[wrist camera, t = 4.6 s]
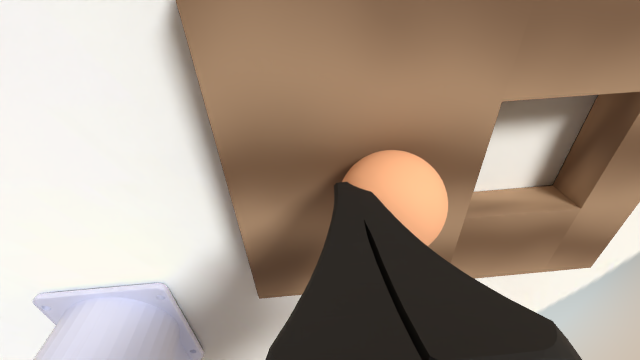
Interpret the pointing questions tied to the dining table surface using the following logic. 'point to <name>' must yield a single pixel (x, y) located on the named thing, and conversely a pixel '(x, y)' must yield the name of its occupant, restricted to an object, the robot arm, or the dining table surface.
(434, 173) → the ball
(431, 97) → the hole board
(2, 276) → the dining table surface
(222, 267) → the dining table surface
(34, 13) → the dining table surface
